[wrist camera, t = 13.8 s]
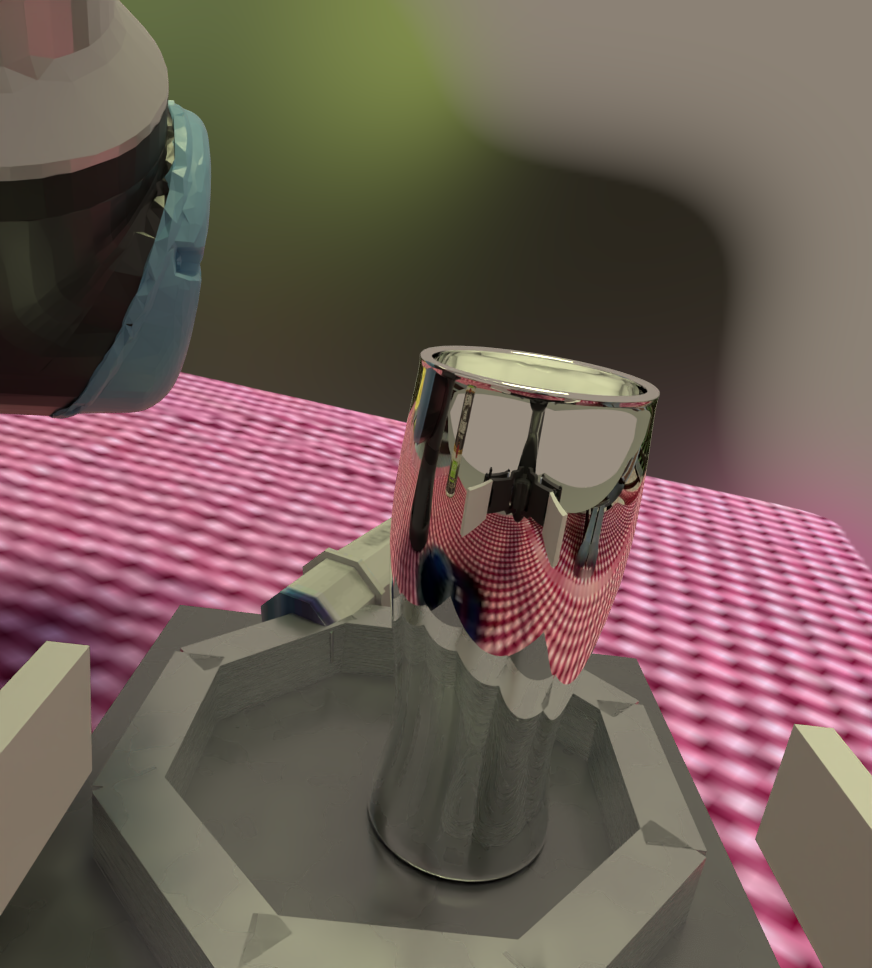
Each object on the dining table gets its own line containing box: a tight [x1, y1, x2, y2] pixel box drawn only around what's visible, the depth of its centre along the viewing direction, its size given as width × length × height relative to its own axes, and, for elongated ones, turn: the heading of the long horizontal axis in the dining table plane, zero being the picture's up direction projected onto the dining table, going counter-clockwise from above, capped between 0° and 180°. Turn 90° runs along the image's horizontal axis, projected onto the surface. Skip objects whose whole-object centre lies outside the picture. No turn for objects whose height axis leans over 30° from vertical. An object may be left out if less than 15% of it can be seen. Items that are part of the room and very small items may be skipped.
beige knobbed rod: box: [261, 517, 392, 664], centre depth 42 cm, size 5×7×25 cm
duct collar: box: [0, 604, 780, 968], centre depth 25 cm, size 22×22×3 cm
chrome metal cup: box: [367, 346, 660, 882], centre depth 23 cm, size 7×7×15 cm
